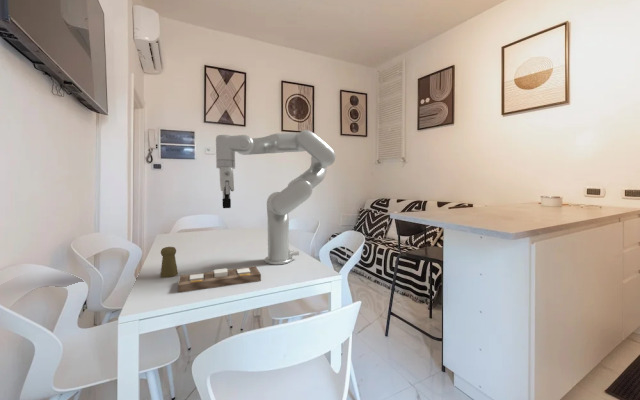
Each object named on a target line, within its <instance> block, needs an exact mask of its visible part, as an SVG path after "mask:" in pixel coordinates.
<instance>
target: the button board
mask: <svg viewBox="0 0 640 400" xmlns="http://www.w3.org/2000/svg"><path fill="white" fill-rule="evenodd" d="M244 268H249V270H250V273H248V274H240V275H237V269H244ZM227 271H228V276H225V277H217V278H214V270H213V271H206V272H197V273H191V274H190V273H187V274H182V275H181V274H180V275H179V280H178V284H177V287H178V288H177V291H178V293H184V292H190V291H191V292H192V291H198V290H199V291H200V290H206V289H212V288H219V287H225V286H226V287H227V286H232V285H234V286H235V285H240V284H247V283H254V282H261V281H262V274H261V272H260V271H259V269H258V268H257V266H254V265H253V266H246V267H239V268H231V269H230V268H229V269H227ZM202 273H204V279H201V280H194V281H190V275H194V274H202Z"/></svg>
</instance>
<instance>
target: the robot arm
mask: <svg viewBox="0 0 640 400" xmlns="http://www.w3.org/2000/svg"><path fill="white" fill-rule="evenodd" d="M297 152H298V153H299V152H307V154H309V155H310V156H311V158H310V159H311V160H310V167H309V168H308V169H307V170H305V171H304V172H302V174H300V175H299V176H297V177H295V178H294V179H292V180H291V181H290V182H289V183H288V184H287V186H286V187H285V188H284V189H282V190H281V191H275V192H272V193H271V194H270V195H269V196H268V198H267V200H266V214H267V256H266V257H264V262H265V263H266V264H269V265H284V264H285V265H286V264H289V263H291V262H292V261H293V256H300V252H299V251H297V250H290V246H289V245H290V244H289V243H290V240H289V239H290V237H289V236H290V235H289V234H290V230H289V229H290V225H289V224H290V222H289V221H290V220H289V219H290V218H289V213H291V212H292V211H294V210H295V209H296V208H297V207H299V206H300V205H302V204H303V203H305V202H306V201H307V200H308V199H309V198H310V197H312V194H313V189H315V188H316V187H317V186H318V185H320V183H322V181H324V179H325V177H326V174H327V170H328V169H327V168H328V167H329V166H332V165H333V164H334V163H335V161H336V153H335V151H334V149H333V148H332V147H331V146H330V145H329V144H327V142H325V141H324V140H323V139H322V138H320V137H319V136H318V135H317V134H316V133H314V132H313V131H311V130H308V129H304V130H302V131H299V132H289V133H288V132H285V133H283V132H281V133H279V132H278V133H273V134H269V135H266V136H261V137H251V136H250V135H247V134H237V135H230V134H218V135H216V137H215V155H216V156H215V163H216V169H218V170H219V187H220V191H221V192H222V199H221V200H222V208H223V209H231V208H232V207H231V206H232V203H231V202H232V199H231V192H233V193H234V191H235V184H234V183H235V182H234V181H235V179H234V170H235V169H236V153H238V154H239V155H243V156H247V155H252V156H253V155H264V154H280V153H282V154H283V153H297Z"/></svg>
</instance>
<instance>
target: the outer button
mask: <svg viewBox="0 0 640 400" xmlns="http://www.w3.org/2000/svg"><path fill="white" fill-rule="evenodd" d="M201 273H202V274H196V273H193V274H194V275H190V281H194V280H201V279H204V272H201Z"/></svg>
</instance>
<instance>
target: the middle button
mask: <svg viewBox="0 0 640 400" xmlns="http://www.w3.org/2000/svg"><path fill="white" fill-rule="evenodd" d="M227 270H228V268H227V267H226V268H215V269H214V270H213V271H214V278H217V277H225V276H228V271H227Z"/></svg>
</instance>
